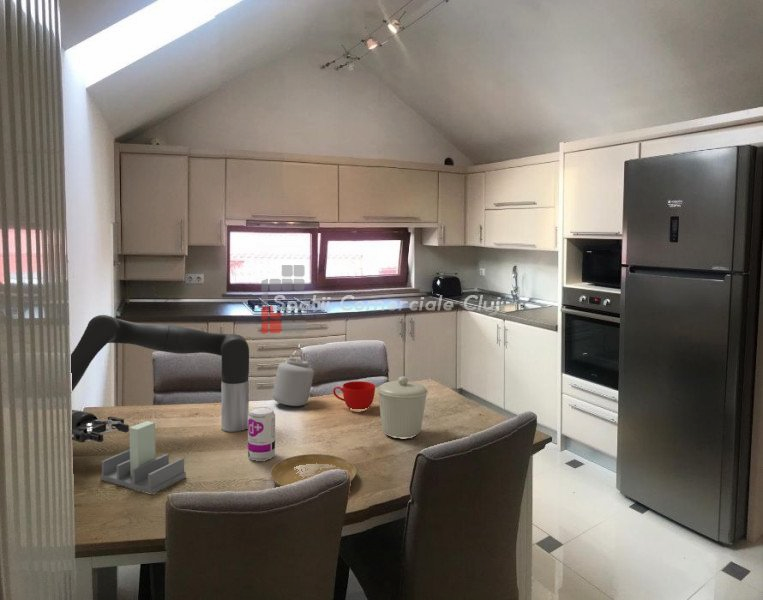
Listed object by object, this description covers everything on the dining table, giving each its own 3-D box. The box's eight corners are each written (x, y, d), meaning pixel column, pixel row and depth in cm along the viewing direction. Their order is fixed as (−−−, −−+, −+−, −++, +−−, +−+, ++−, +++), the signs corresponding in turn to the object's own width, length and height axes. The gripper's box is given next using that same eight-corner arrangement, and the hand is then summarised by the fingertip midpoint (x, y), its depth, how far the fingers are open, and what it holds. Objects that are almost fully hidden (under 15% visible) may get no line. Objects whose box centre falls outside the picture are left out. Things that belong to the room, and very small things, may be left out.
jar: (306, 396, 232) (307, 339, 229) (324, 405, 220) (325, 345, 217) (266, 402, 221) (266, 343, 218) (281, 413, 209) (282, 350, 206)
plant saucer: (317, 456, 170) (317, 446, 169) (373, 481, 154) (373, 470, 154) (252, 481, 152) (252, 470, 151) (309, 511, 136) (309, 499, 136)
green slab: (130, 476, 148) (129, 427, 147) (148, 468, 154) (147, 420, 152) (138, 478, 147) (137, 429, 146) (155, 470, 153) (154, 422, 151)
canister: (437, 435, 191) (439, 377, 188) (403, 448, 178) (406, 386, 175) (398, 422, 203) (400, 367, 201) (365, 433, 190) (366, 375, 187)
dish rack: (100, 479, 149) (100, 460, 148) (136, 463, 160) (135, 445, 159) (152, 495, 141) (151, 475, 141) (185, 477, 152) (185, 458, 152)
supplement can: (261, 464, 162) (262, 416, 160) (242, 458, 166) (242, 411, 164) (280, 455, 169) (280, 409, 167) (261, 449, 173) (261, 404, 171)
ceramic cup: (336, 403, 224) (337, 379, 222) (376, 405, 221) (377, 382, 220) (329, 412, 211) (329, 388, 210) (371, 416, 209) (372, 391, 207)
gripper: (53, 418, 153) (92, 428, 147) (97, 405, 166) (135, 413, 160) (54, 443, 154) (93, 454, 148) (98, 428, 167) (136, 437, 161)
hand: (115, 433), depth 154 cm, fingers open, 8 cm apart
